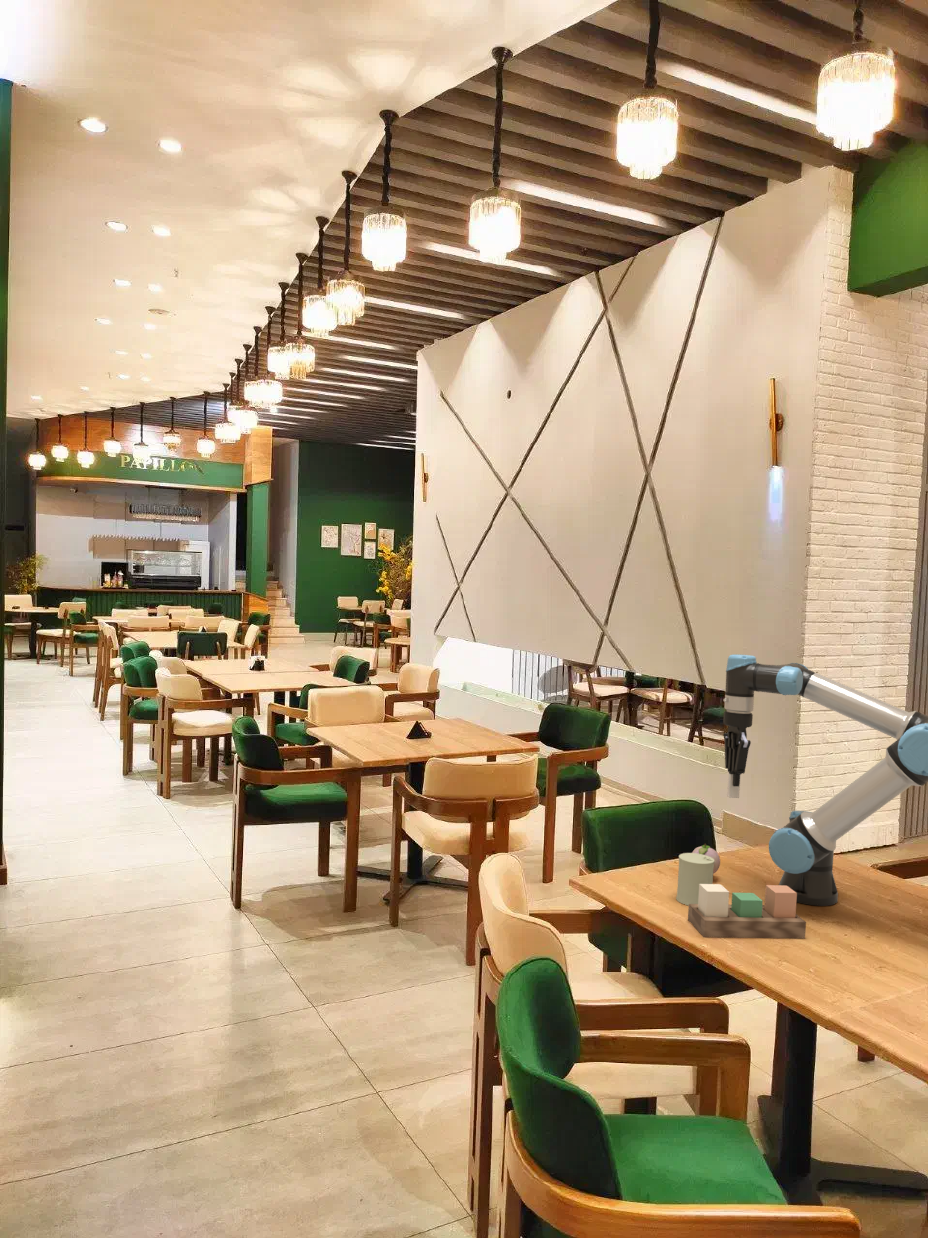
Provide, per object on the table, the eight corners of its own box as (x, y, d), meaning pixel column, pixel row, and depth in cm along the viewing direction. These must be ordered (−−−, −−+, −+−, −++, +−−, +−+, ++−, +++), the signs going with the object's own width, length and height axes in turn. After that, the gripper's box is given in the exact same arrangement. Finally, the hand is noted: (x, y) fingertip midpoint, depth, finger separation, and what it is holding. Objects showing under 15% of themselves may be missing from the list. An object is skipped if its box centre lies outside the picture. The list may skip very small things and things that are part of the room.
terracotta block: (784, 913, 219) (786, 885, 219) (795, 921, 214) (796, 893, 214) (764, 913, 219) (765, 885, 219) (773, 921, 213) (775, 892, 213)
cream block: (718, 912, 218) (720, 884, 217) (727, 920, 212) (729, 891, 212) (697, 912, 217) (699, 884, 217) (705, 920, 212) (707, 891, 212)
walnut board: (784, 921, 222) (785, 905, 222) (805, 938, 211) (806, 922, 211) (687, 919, 220) (688, 904, 220) (703, 937, 209) (704, 920, 209)
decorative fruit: (719, 885, 248) (721, 850, 248) (689, 881, 250) (691, 846, 250) (719, 875, 257) (721, 841, 257) (690, 871, 259) (692, 837, 259)
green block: (751, 921, 219) (753, 893, 218) (760, 929, 213) (762, 900, 213) (730, 920, 218) (732, 892, 218) (739, 929, 213) (741, 900, 212)
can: (713, 909, 229) (716, 863, 228) (676, 905, 230) (679, 859, 230) (710, 897, 238) (713, 853, 237) (675, 893, 239) (678, 849, 239)
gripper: (716, 707, 247) (711, 791, 247) (734, 714, 234) (729, 802, 234) (741, 708, 247) (736, 792, 248) (761, 715, 234) (756, 803, 235)
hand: (733, 797), depth 241 cm, fingers closed
